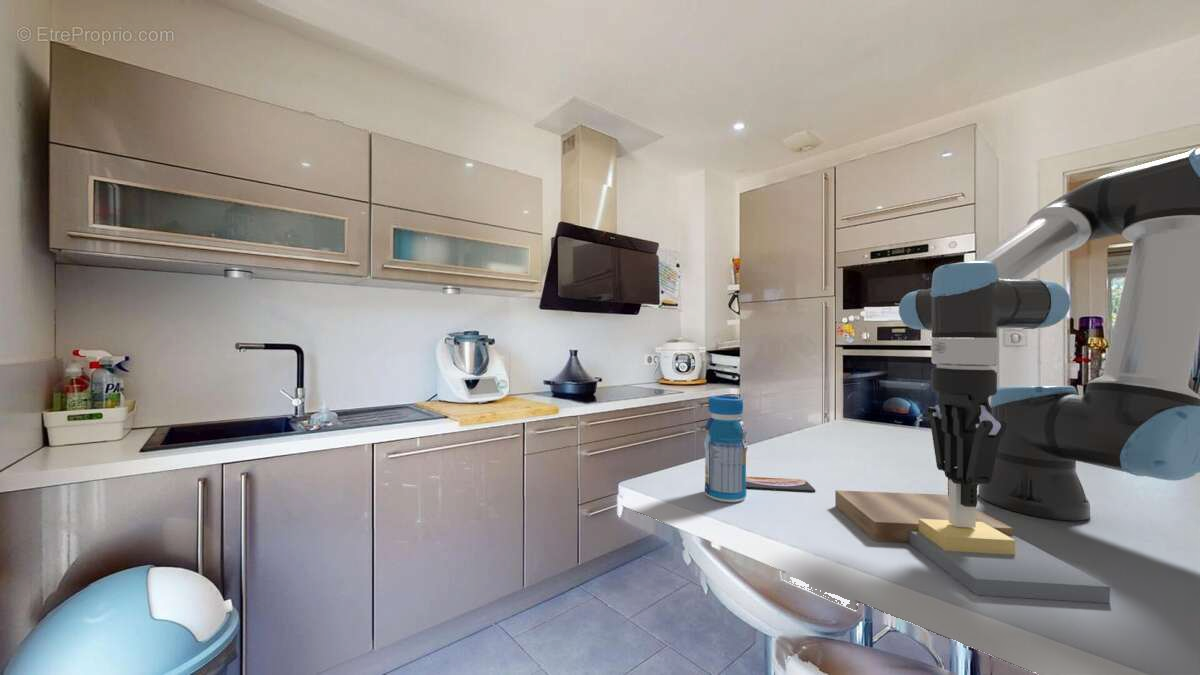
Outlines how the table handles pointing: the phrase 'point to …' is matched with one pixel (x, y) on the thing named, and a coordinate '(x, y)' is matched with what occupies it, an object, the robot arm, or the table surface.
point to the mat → (1015, 573)
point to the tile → (966, 537)
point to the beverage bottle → (725, 450)
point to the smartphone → (778, 484)
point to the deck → (899, 513)
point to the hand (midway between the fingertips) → (961, 524)
